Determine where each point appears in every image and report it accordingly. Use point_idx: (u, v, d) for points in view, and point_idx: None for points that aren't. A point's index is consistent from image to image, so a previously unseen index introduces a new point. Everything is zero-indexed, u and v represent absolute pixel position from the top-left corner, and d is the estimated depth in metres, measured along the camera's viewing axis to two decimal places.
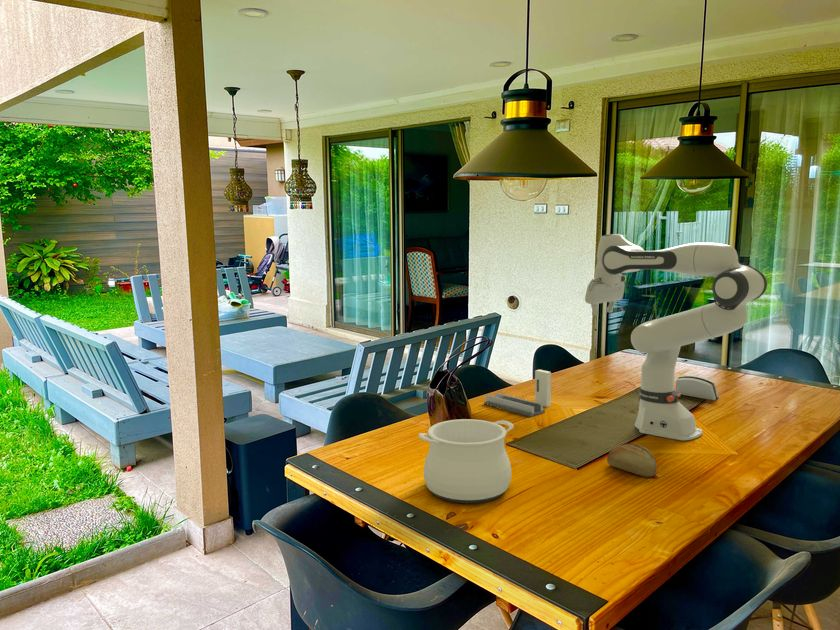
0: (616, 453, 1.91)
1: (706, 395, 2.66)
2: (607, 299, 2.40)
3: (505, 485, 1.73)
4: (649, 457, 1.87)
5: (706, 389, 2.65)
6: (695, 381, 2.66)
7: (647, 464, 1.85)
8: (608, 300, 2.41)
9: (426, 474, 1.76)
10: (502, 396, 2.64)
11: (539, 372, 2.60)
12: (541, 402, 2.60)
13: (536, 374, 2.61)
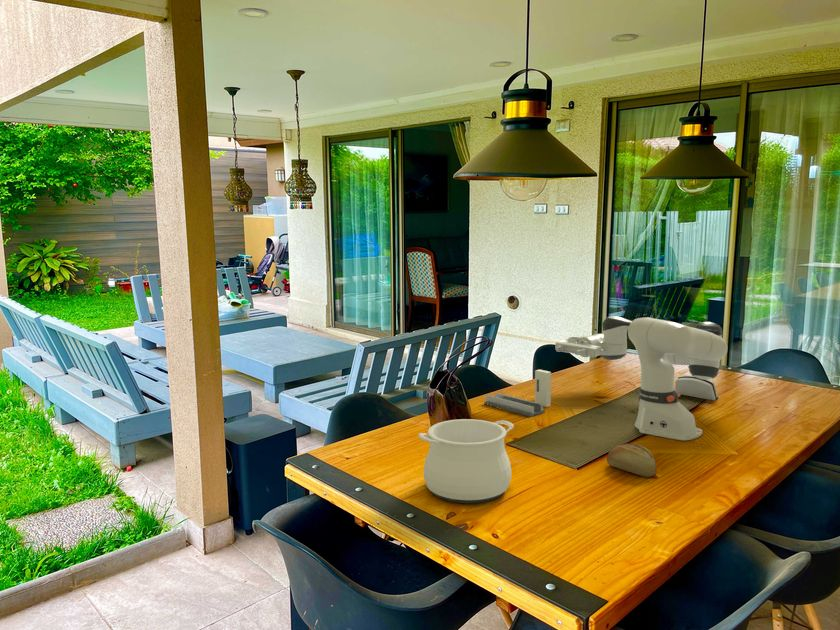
0: (615, 453, 1.91)
1: (706, 395, 2.66)
2: None
3: (505, 485, 1.73)
4: (649, 457, 1.87)
5: (706, 389, 2.65)
6: (695, 381, 2.67)
7: (647, 463, 1.86)
8: (574, 353, 2.73)
9: (426, 474, 1.76)
10: (502, 396, 2.64)
11: (539, 372, 2.60)
12: (541, 402, 2.60)
13: (536, 374, 2.61)
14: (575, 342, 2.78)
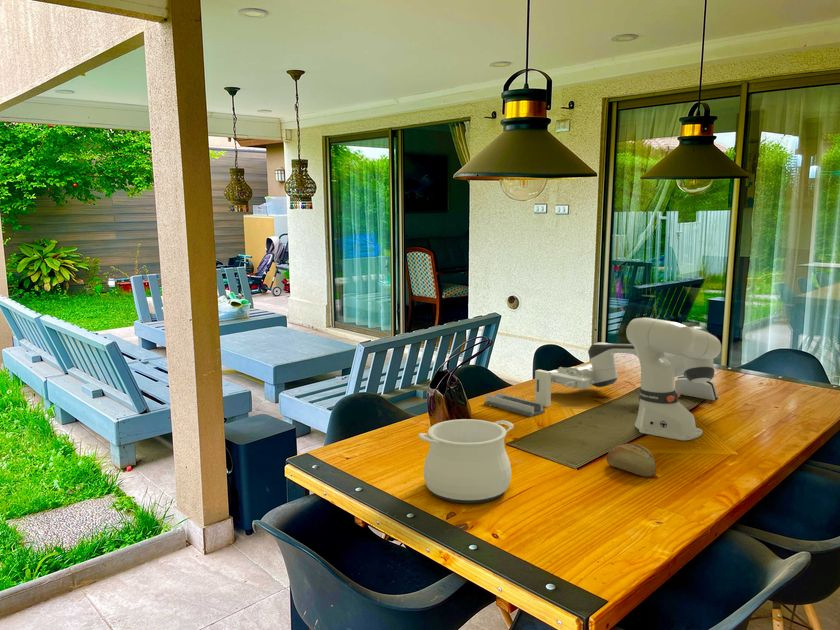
0: (615, 453, 1.91)
1: (705, 395, 2.66)
2: None
3: (505, 485, 1.73)
4: (648, 457, 1.87)
5: (705, 389, 2.65)
6: None
7: (646, 463, 1.86)
8: (563, 384, 2.71)
9: (426, 474, 1.76)
10: (502, 396, 2.64)
11: (539, 372, 2.60)
12: (541, 402, 2.60)
13: (536, 374, 2.61)
14: (565, 373, 2.76)
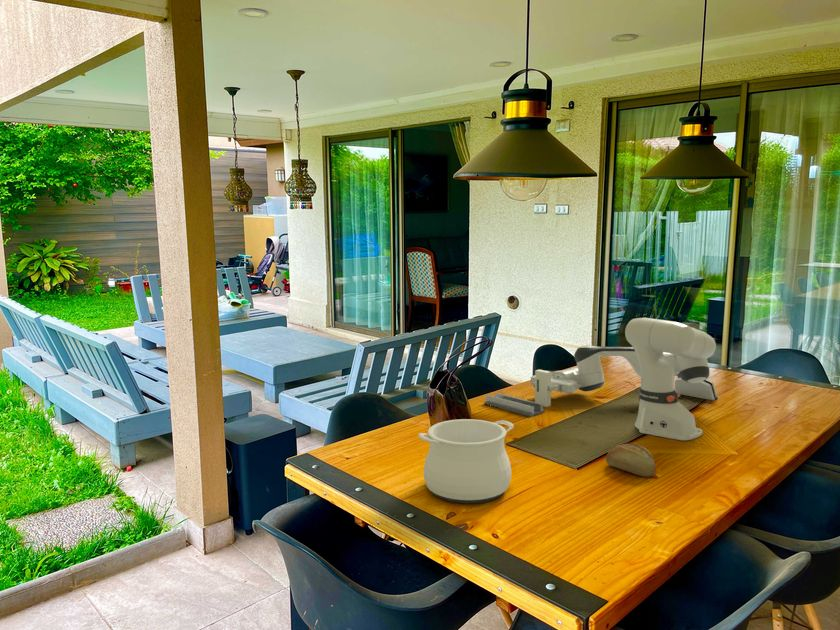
0: (615, 453, 1.91)
1: (705, 395, 2.66)
2: None
3: (505, 485, 1.73)
4: (648, 457, 1.87)
5: (704, 389, 2.65)
6: None
7: (646, 463, 1.86)
8: None
9: (426, 474, 1.76)
10: (502, 396, 2.64)
11: (539, 372, 2.60)
12: (541, 402, 2.60)
13: (536, 374, 2.61)
14: (551, 376, 2.69)
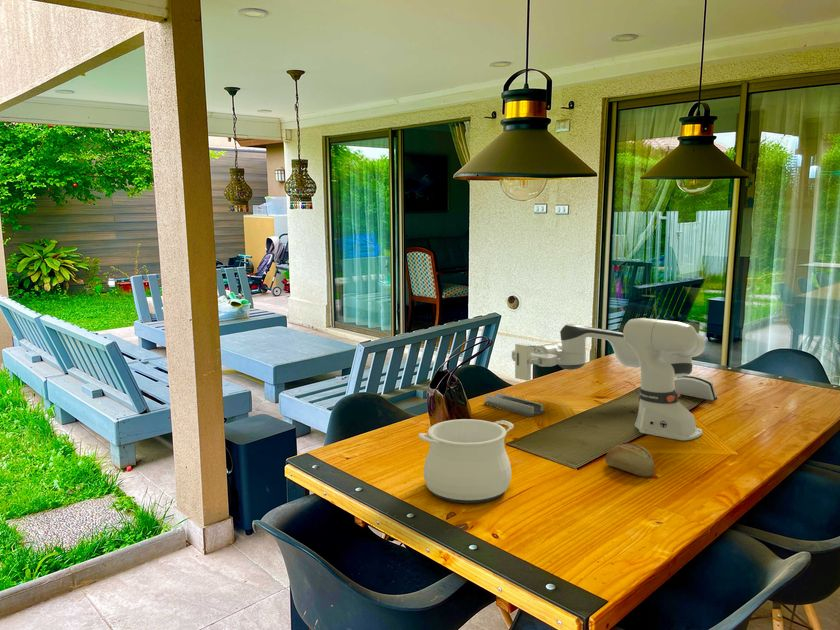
0: (614, 453, 1.91)
1: (704, 395, 2.66)
2: None
3: (505, 485, 1.73)
4: (647, 457, 1.87)
5: (704, 389, 2.65)
6: (693, 381, 2.67)
7: (645, 463, 1.86)
8: None
9: (426, 474, 1.76)
10: (502, 396, 2.64)
11: (519, 345, 2.56)
12: (521, 376, 2.57)
13: (516, 347, 2.58)
14: (532, 351, 2.66)
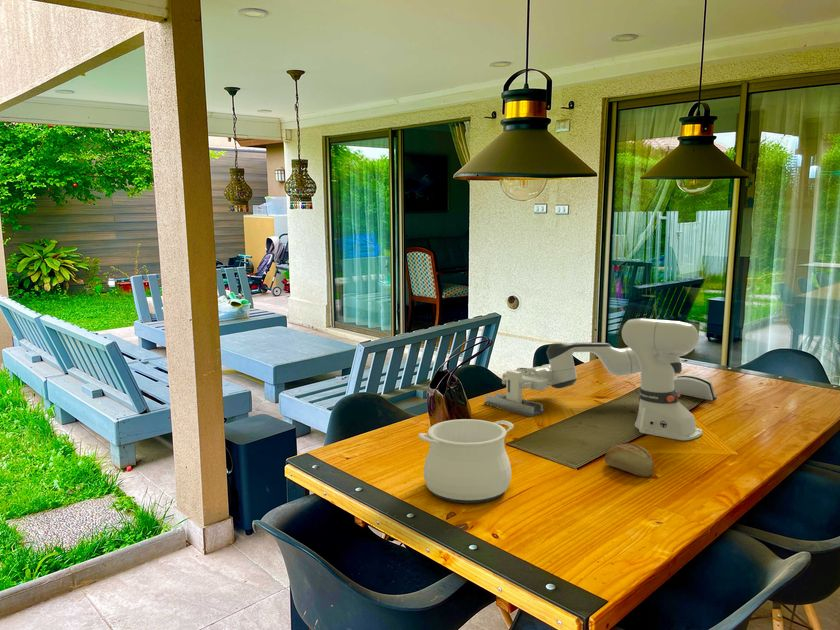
0: (613, 453, 1.91)
1: (703, 395, 2.66)
2: None
3: (505, 485, 1.73)
4: (646, 457, 1.87)
5: (703, 389, 2.65)
6: (692, 381, 2.67)
7: (644, 463, 1.86)
8: None
9: (426, 474, 1.76)
10: (502, 396, 2.64)
11: (510, 372, 2.55)
12: None
13: (507, 374, 2.57)
14: (523, 373, 2.65)
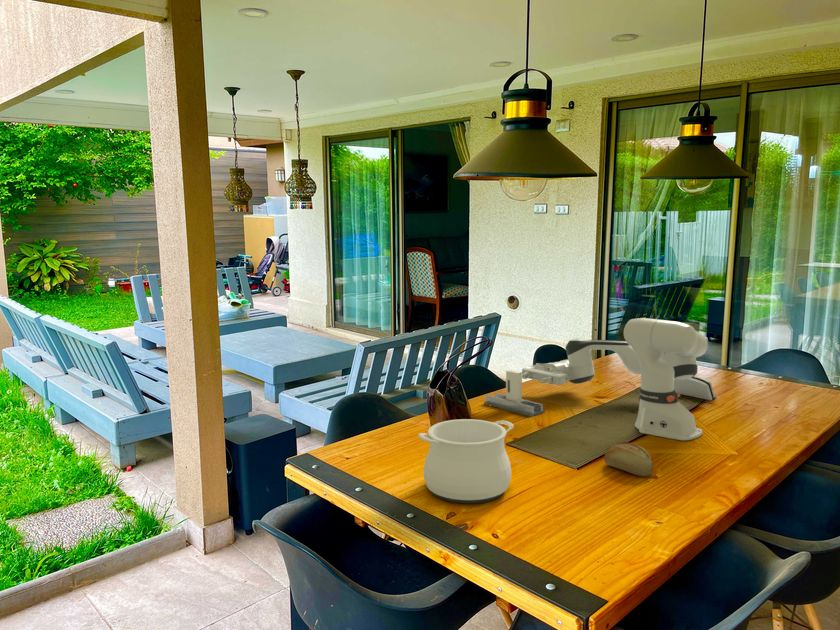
0: (612, 452, 1.91)
1: (702, 395, 2.66)
2: None
3: (505, 485, 1.73)
4: (645, 457, 1.87)
5: (702, 389, 2.65)
6: (691, 380, 2.67)
7: (643, 463, 1.86)
8: (540, 380, 2.68)
9: (426, 474, 1.76)
10: (502, 396, 2.64)
11: (510, 372, 2.56)
12: None
13: (507, 374, 2.57)
14: (542, 369, 2.73)
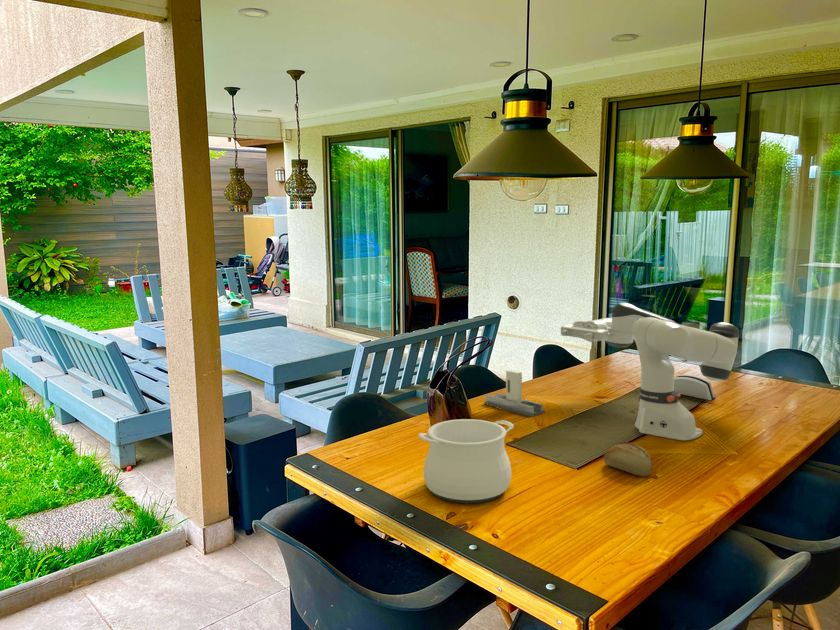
0: (612, 452, 1.91)
1: (702, 395, 2.67)
2: None
3: (505, 485, 1.73)
4: (644, 457, 1.87)
5: (701, 389, 2.65)
6: (691, 380, 2.68)
7: (642, 463, 1.86)
8: (580, 337, 2.64)
9: (426, 474, 1.76)
10: (502, 396, 2.64)
11: (510, 372, 2.56)
12: None
13: (507, 374, 2.57)
14: (581, 326, 2.69)
